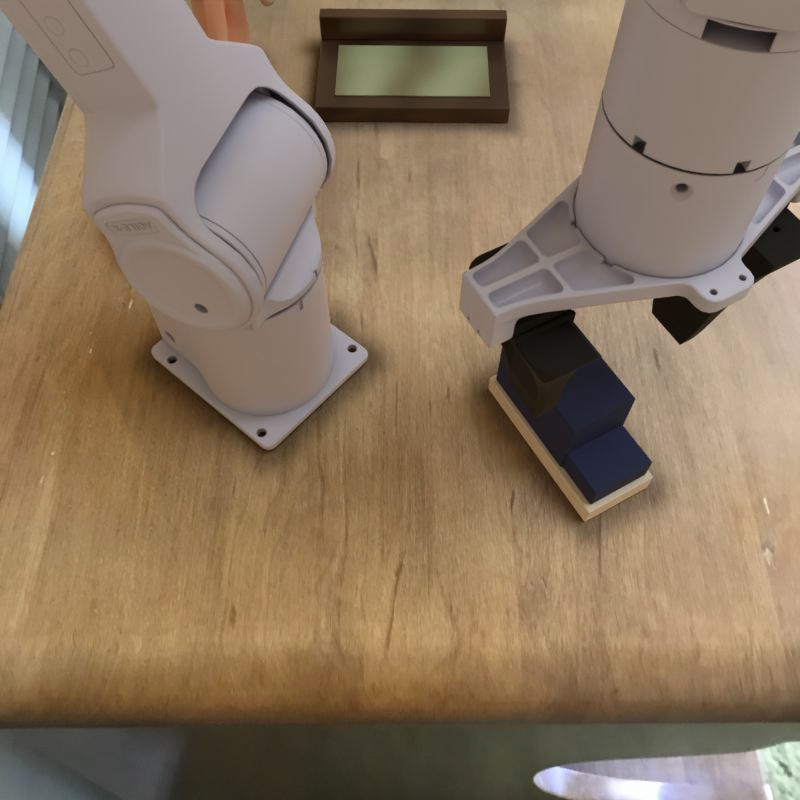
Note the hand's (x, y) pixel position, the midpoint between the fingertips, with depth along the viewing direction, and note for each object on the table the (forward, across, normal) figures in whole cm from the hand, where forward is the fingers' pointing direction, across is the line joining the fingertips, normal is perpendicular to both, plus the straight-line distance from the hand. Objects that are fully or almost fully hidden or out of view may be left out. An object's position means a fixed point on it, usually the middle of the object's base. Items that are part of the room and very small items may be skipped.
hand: (601, 360), depth 36 cm
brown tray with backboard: (+8, +7, +29) cm, 31 cm away
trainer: (+8, 0, +1) cm, 8 cm away
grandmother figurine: (+9, -3, +37) cm, 38 cm away
